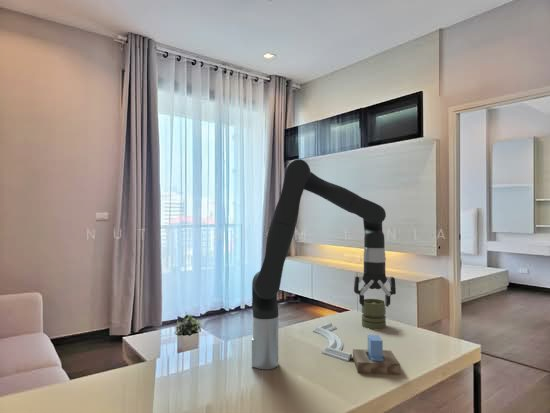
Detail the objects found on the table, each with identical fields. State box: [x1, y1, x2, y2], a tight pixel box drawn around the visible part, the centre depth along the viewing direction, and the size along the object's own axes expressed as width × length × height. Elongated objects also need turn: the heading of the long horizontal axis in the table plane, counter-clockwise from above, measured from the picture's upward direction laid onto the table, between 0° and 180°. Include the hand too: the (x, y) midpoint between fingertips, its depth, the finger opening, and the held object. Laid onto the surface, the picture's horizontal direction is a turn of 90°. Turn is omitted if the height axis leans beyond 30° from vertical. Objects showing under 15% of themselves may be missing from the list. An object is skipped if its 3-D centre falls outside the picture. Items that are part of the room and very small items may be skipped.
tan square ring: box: [352, 348, 401, 375], centre depth 122 cm, size 14×12×4 cm
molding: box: [312, 322, 353, 362], centre depth 148 cm, size 42×12×3 cm, turn 1°
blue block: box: [366, 334, 384, 361], centre depth 123 cm, size 4×9×10 cm, turn 175°
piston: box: [361, 298, 387, 330], centre depth 170 cm, size 11×12×11 cm
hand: (374, 305), depth 123 cm, fingers open, 8 cm apart
